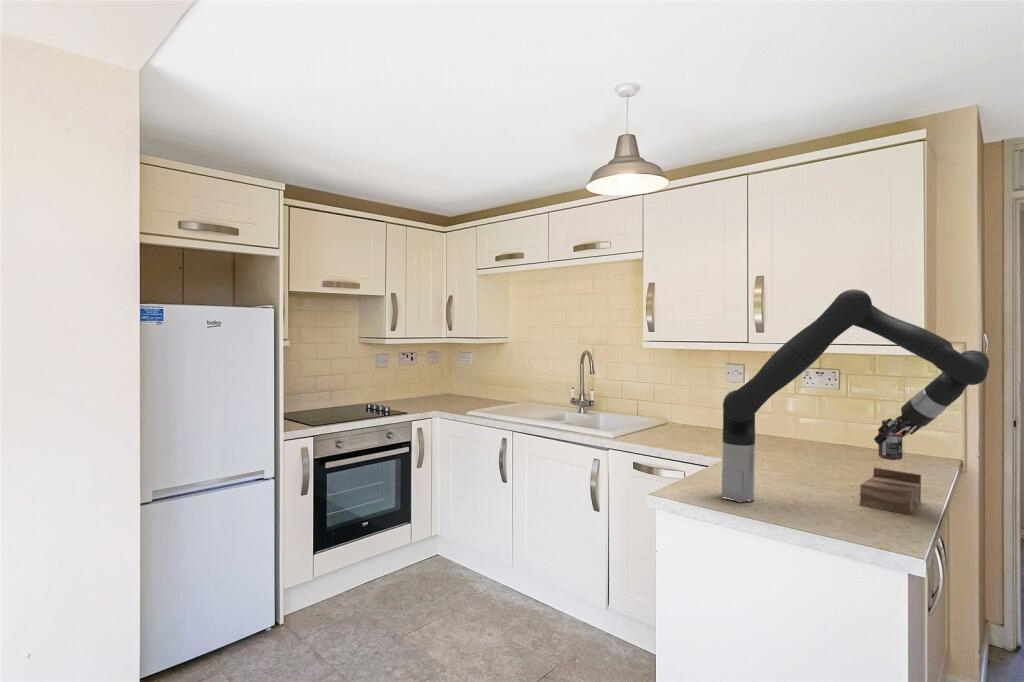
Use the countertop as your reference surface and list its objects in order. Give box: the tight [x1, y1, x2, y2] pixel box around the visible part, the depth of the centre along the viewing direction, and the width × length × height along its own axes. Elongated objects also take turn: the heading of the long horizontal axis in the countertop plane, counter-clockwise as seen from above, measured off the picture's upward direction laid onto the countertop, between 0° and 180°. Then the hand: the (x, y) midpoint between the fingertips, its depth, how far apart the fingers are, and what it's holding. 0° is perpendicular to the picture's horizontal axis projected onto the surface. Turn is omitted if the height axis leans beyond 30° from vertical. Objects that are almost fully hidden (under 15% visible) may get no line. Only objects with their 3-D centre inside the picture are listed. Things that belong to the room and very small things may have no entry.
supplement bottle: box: [877, 419, 903, 461], centre depth 166 cm, size 6×6×11 cm
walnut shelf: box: [859, 467, 922, 516], centre depth 165 cm, size 16×12×8 cm
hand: (884, 441), depth 167 cm, fingers closed on supplement bottle, 6 cm apart
